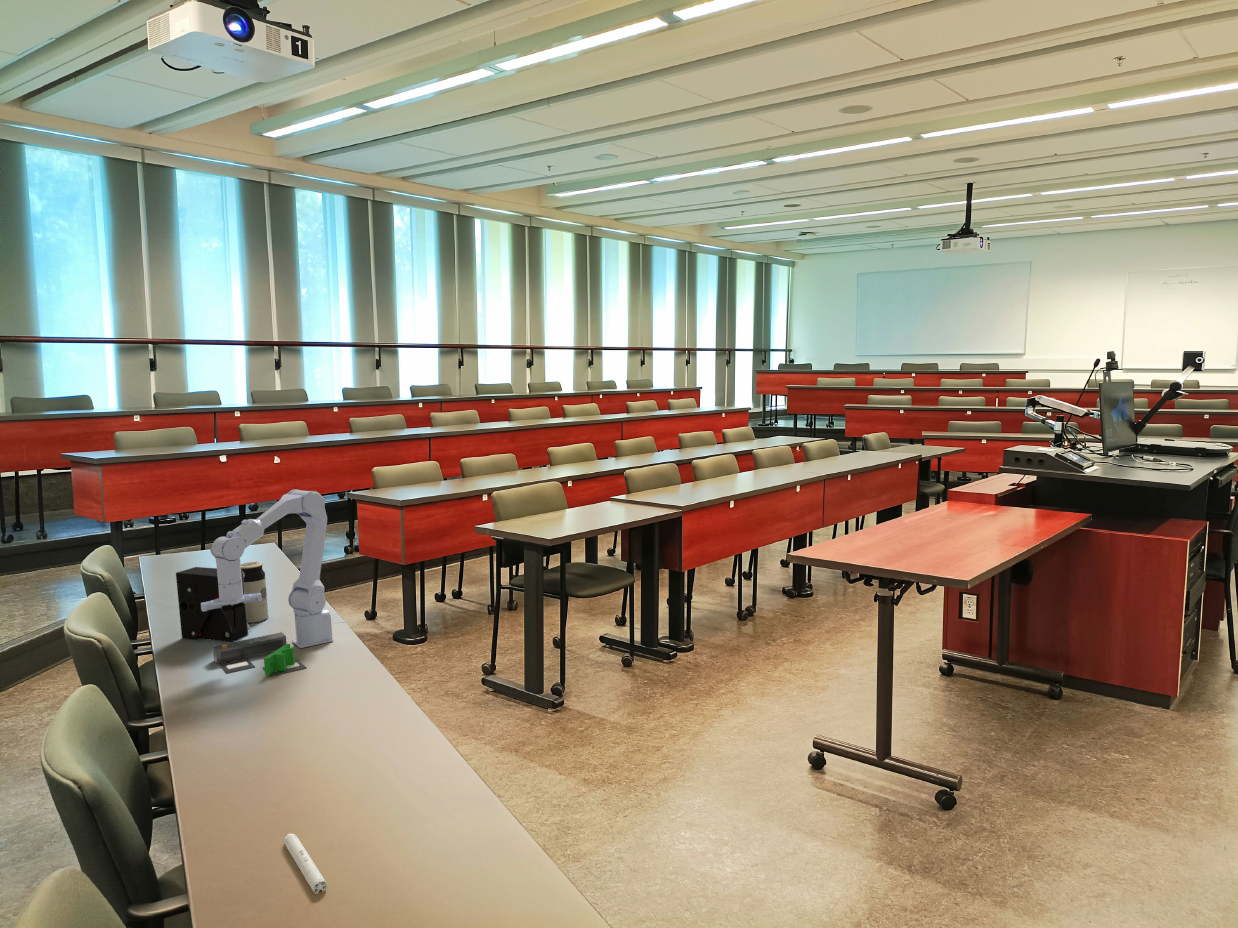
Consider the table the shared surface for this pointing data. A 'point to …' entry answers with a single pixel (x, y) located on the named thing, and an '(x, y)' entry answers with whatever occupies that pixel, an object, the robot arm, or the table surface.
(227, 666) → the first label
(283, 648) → the pipe clamp
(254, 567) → the travel mug
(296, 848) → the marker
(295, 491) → the robot arm
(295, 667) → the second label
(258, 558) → the table surface
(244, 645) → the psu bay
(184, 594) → the electrical component
